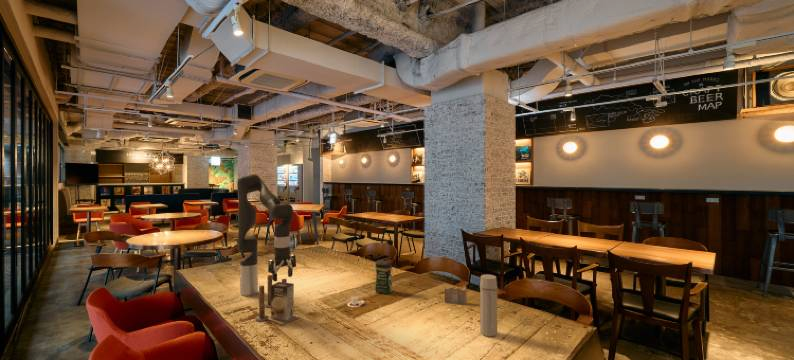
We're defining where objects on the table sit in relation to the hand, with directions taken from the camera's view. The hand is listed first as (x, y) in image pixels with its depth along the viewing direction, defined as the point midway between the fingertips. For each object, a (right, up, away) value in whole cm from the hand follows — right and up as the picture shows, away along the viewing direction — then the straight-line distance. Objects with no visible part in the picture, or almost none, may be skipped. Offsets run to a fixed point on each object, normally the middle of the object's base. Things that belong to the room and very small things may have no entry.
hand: (282, 278), depth 172 cm
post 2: (-12, -19, +18) cm, 29 cm away
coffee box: (0, -19, 0) cm, 19 cm away
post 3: (-3, -19, +11) cm, 22 cm away
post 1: (-10, -20, 0) cm, 22 cm away
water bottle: (+95, -19, -18) cm, 99 cm away
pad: (0, -19, 0) cm, 19 cm away
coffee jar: (+47, -19, +38) cm, 63 cm away
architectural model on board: (+87, -19, +20) cm, 91 cm away
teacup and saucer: (+34, -20, +16) cm, 42 cm away
